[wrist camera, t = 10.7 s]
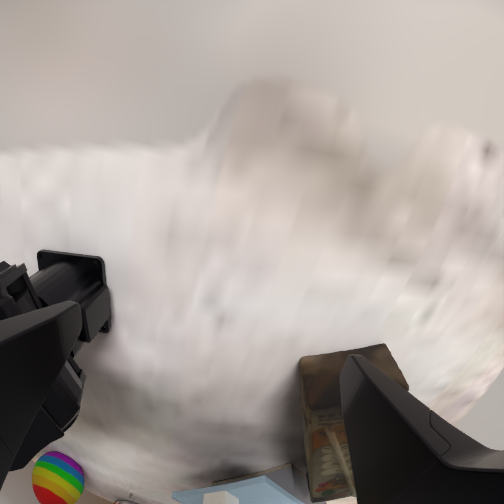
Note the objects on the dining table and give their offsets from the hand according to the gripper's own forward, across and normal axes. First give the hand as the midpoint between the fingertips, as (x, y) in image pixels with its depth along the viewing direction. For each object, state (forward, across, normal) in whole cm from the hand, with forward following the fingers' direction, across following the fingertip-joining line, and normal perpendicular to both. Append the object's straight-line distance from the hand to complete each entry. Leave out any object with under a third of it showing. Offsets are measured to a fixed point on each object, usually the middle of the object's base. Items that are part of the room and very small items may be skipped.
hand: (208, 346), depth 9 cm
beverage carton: (+13, -13, +17) cm, 25 cm away
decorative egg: (+11, +21, +39) cm, 46 cm away
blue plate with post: (+7, -6, +28) cm, 29 cm away
